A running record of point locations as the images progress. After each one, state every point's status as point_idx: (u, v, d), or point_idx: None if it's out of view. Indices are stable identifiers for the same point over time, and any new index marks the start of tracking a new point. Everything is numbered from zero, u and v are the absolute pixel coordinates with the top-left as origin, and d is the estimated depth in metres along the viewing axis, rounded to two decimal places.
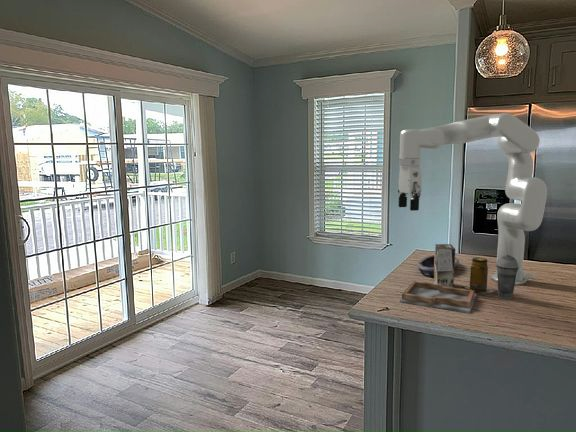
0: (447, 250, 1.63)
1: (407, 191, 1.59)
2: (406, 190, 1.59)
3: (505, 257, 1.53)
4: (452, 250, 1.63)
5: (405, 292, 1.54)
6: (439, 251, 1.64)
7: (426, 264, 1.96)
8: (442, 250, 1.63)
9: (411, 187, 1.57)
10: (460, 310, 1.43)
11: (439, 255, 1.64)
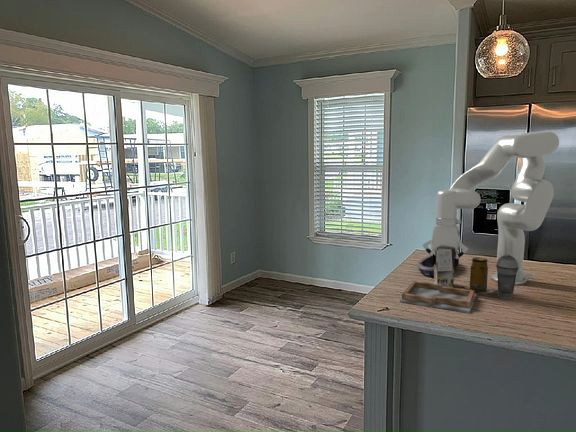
0: (447, 250, 1.63)
1: None
2: None
3: (505, 257, 1.53)
4: (452, 250, 1.63)
5: (405, 292, 1.54)
6: (439, 251, 1.64)
7: (426, 264, 1.96)
8: (442, 250, 1.63)
9: (458, 246, 1.63)
10: (460, 310, 1.43)
11: (439, 255, 1.64)
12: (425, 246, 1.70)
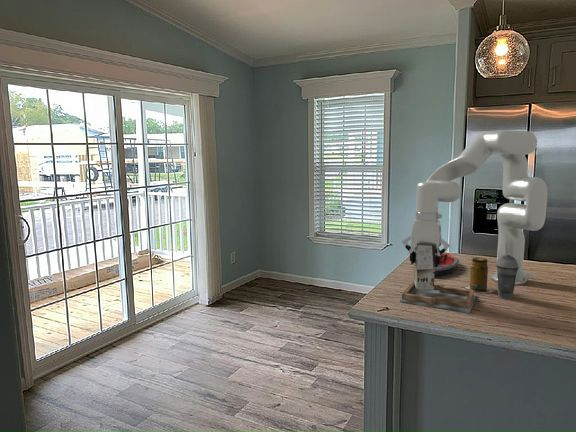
0: (427, 246, 1.51)
1: None
2: None
3: (505, 257, 1.53)
4: (432, 246, 1.50)
5: (405, 292, 1.54)
6: (419, 248, 1.51)
7: None
8: (422, 246, 1.51)
9: (439, 242, 1.51)
10: (460, 310, 1.43)
11: (419, 252, 1.51)
12: (404, 242, 1.58)
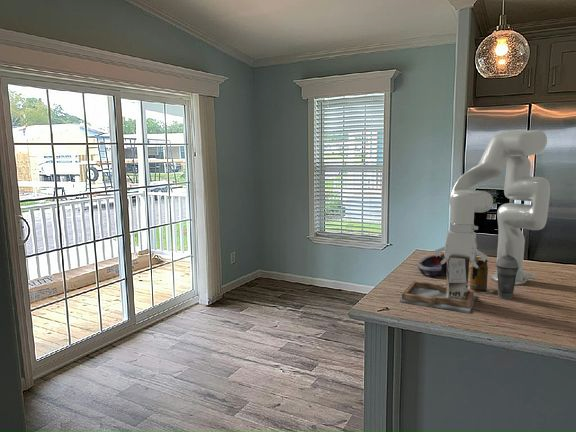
0: (460, 259, 1.46)
1: None
2: None
3: (505, 257, 1.53)
4: (466, 259, 1.46)
5: (405, 292, 1.54)
6: (451, 260, 1.47)
7: (426, 264, 1.96)
8: (454, 259, 1.46)
9: (475, 255, 1.46)
10: (460, 310, 1.43)
11: (451, 265, 1.47)
12: (436, 253, 1.53)
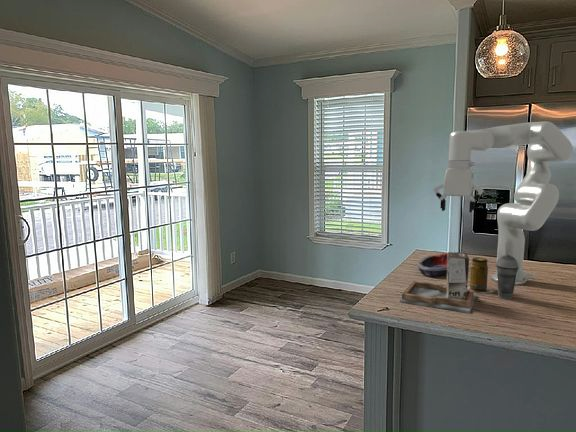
0: (460, 259, 1.46)
1: (466, 193, 1.57)
2: (463, 193, 1.57)
3: (505, 257, 1.53)
4: (465, 259, 1.46)
5: (405, 292, 1.54)
6: (451, 260, 1.47)
7: (426, 264, 1.96)
8: (454, 259, 1.47)
9: (472, 189, 1.56)
10: (460, 310, 1.43)
11: (451, 265, 1.47)
12: (436, 190, 1.63)
